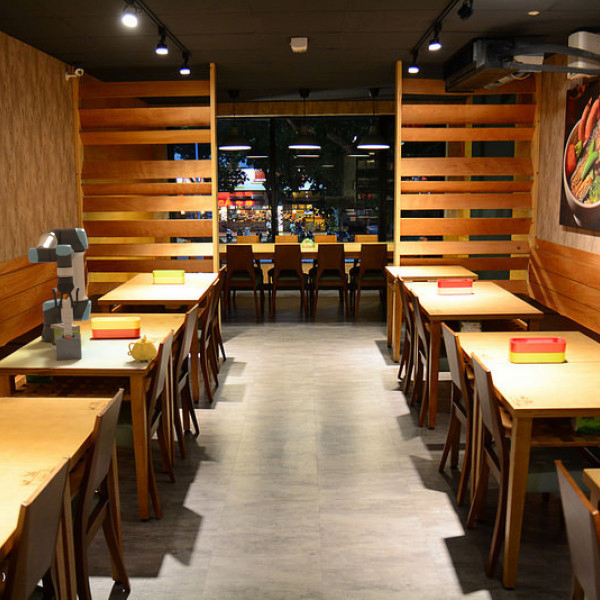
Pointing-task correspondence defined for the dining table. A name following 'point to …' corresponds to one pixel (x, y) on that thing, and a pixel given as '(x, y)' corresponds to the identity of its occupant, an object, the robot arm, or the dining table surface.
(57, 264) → the robot arm
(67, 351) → the stand base
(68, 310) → the column
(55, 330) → the tea box
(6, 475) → the dining table surface
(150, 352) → the teapot
